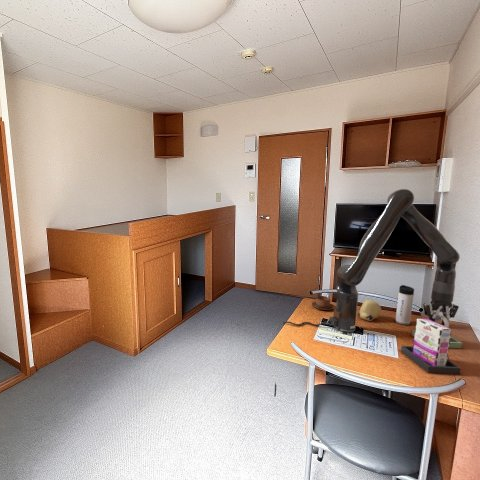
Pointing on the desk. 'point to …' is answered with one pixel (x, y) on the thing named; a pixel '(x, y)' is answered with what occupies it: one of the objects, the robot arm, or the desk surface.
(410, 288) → the travel mug
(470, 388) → the desk surface
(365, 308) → the yellow quince
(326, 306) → the cup and saucer
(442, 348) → the candy bar box
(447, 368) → the charcoal tray
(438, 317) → the watch
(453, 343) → the sage tray
